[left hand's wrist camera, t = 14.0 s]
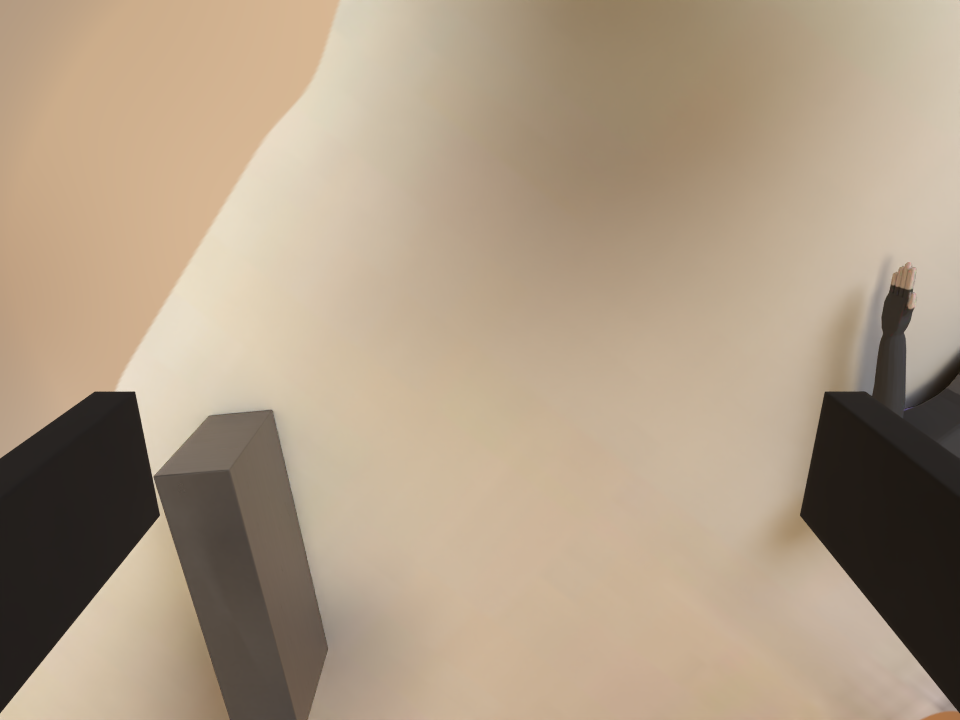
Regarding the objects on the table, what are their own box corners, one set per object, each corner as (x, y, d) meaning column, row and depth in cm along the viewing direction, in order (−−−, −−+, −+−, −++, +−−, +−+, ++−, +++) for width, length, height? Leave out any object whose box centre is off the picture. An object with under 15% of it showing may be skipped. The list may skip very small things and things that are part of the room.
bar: (208, 415, 48) (152, 476, 40) (272, 409, 48) (229, 469, 40) (273, 653, 56) (237, 745, 48) (328, 649, 56) (302, 740, 47)
